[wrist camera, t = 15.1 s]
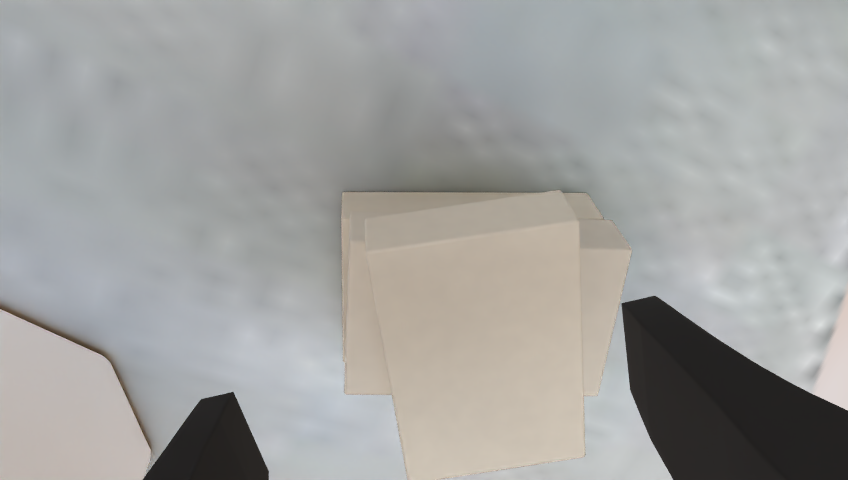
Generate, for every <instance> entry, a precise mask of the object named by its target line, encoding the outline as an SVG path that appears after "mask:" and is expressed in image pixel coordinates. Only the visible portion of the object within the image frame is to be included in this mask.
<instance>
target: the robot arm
mask: <svg viewBox="0 0 848 480" xmlns="http://www.w3.org/2000/svg"><path fill="white" fill-rule="evenodd" d="M622 313H623V322H624V332H625V342H626V352H627V362H628V372H629V382H630V390H631V393H632V395H633V398H634V400H635V403H636V405H637V408H638V410H639V413H640V415H641V418H642V420H643V422H644V425H645V427H646V429H647V432H648V434H649V436H650V439H651V441H652V442H653V444H654V446H655V448H656V450H657V451H658V453H659V455H660V457H661V458H662V460H663V462H664V464H665V466H666V467H667V469H668V471H669V473H670V474H671V476H672V478H673V480H848V411H847V410H845V409H843V408H841V407H839V406H837V405H835V404H832V403H830V402H828V401H826V400H824V399H822V398H820V397H817V396H815V395H813V394H811V393H809V392H807V391H805V390H803V389H801V388H799V387H797V386H795V385H793V384H792V383H790V382H788V381H786V380H784V379H783V378H781V377H779V376H777V375H775V374H774V373H772V372H770V371H768V370H766V369H765V368H763V367H761V366H759V365H758V364H756V363H754V362H753V361H751V360H750V359H748V358H746V357H745V356H743V355H742V354H740V353H739V352H737V351H735V350H734V349H732V348H731V347H729V346H728V345H726V344H724V343H723V342H721V341H720V340H718V339H717V338H715V337H714V336H712V335H711V334H709V333H708V332H706V331H705V330H704V329H702V328H701V327H699V326H698V325H696V324H695V323H693V322H692V321H691V320H689V319H688V318H686V317H685V316H684V315H682V314H681V313H679V312H678V311H676V310H675V309H674V308H672V307H671V306H669V305H668V304H667V303H665V302H664V301H662V300H661V299H659V298H658V297H656V296H652V297H647V298H643V299H639V300H634V301H630V302H625V303H622ZM143 480H269V471H268V469H267V467H266V464H265V462H264V460H263V458H262V455H261V453H260V451H259V449H258V446H257V444H256V442H255V440H254V437H253V435H252V433H251V431H250V428H249V426H248V424H247V422H246V419H245V417H244V415H243V413H242V410H241V408H240V406H239V404H238V401H237V399H236V397H235V395H234V392H231V393H227V394H222V395H218V396H213V397H209V398H205V399H201V400H200V401H199V403H198V404H197V405H196V407H195V408H194V409H193V411H192V412H191V413H190V415H189V416H188V418H187V419H186V420H185V422H184V423H183V425H182V426H181V427H180V429H179V430H178V432H177V433H176V434H175V436H174V437H173V439H172V440H171V442H170V443H169V444H168V446H167V447H166V449H165V450H164V451H163V453H162V454H161V455H160V457H159V458H158V460H157V461H156V462H155V464H154V465H153V466H152V468H151V469H150V470H149V472H148V473H147V475H146V476H145V477H144V479H143Z"/></svg>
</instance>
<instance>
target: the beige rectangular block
mask: <svg viewBox="0 0 848 480" xmlns="http://www.w3.org/2000/svg"><path fill="white" fill-rule="evenodd" d="M365 251H366V259H367V264H368V269H369V275H370V280H371V285H372V291H373V296H374V302H375V307H376V312H377V318H378V323H379V329H380V334H381V339H382V345H383V350H384V355H385V361H386V366H387V372H388V377H389V382H390V388H391V393H392V399H393V404H394V409H395V415H396V420H397V425H398V431H399V436H400V442H401V447H402V452H403V458H404V463H405V468H406V474H407V479H408V480H439V479H445V478H452V477H458V476H465V475H471V474H478V473H484V472H491V471H498V470H504V469H511V468H517V467H524V466H530V465H537V464H543V463H550V462H556V461H563V460H569V459H576V458H582V457H585V424H584V382H583V340H582V299H581V257H580V222H579V220H578V218H577V216H576V215H575V213H574V211H573V210H572V208H571V206H570V205H569V203H568V201H567V200H566V198H565V196H564V195H563V193H562V191H561V190H555V191H548V192H542V193H535V194H528V195H521V196H515V197H508V198H501V199H494V200H488V201H481V202H474V203H467V204H460V205H454V206H447V207H440V208H433V209H427V210H420V211H413V212H406V213H399V214H393V215H386V216H379V217H372V218H367V219H365Z"/></svg>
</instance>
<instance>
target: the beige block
mask: <svg viewBox="0 0 848 480" xmlns="http://www.w3.org/2000/svg"><path fill="white" fill-rule="evenodd" d="M528 194H535V193H499V192H343V193H342V212H341V241H342V324H343V362H345V384H344V393H345V394H346V395H392V393H391V388H390V382H389V377H388V372H387V366H386V361H385V355H384V350H383V345H382V339H381V334H380V329H379V323H378V318H377V312H376V307H375V302H374V296H373V291H372V285H371V280H370V275H369V269H368V264H367V259H366V251H365V219H367V218H372V217H379V216H386V215H393V214H399V213H406V212H413V211H420V210H427V209H433V208H440V207H447V206H454V205H460V204H467V203H474V202H481V201H488V200H494V199H501V198H508V197H515V196H521V195H528ZM563 195H564V196H565V198H566V200H567V201H568V203H569V205H570V206H571V208H572V210H573V211H574V213H575V215H576V216H577V218H578V220H579V222H580V257H581V299H582V340H583V382H584V396H597V395H598V392H599V388H600V384H601V379H602V375H603V371H604V367H605V363H606V358H607V354H608V350H609V346H610V342H611V337H612V333H613V329H614V325H615V321H616V316H617V312H618V308H619V304H620V300H621V295H622V291H623V287H624V283H625V279H626V274H627V270H628V266H629V262H630V257H631V253H632V248H631V247H630V246H629V244H628V243H627V241H626V240H625V238H624V237H623V235H622V234H621V232H620V231H619V230H618V228H617V227H616V225H615V224H614V222H613V221H612V220H604V218H603V216H602V215H601V213H600V212H599V210H598V209H597V207H596V206H595V204H594V203H593V201H592V200H591V198H590V197H589V195H588V194H587V193H563Z"/></svg>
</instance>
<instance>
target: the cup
mask: <svg viewBox="0 0 848 480" xmlns="http://www.w3.org/2000/svg"><path fill="white" fill-rule="evenodd" d="M150 459H151V450H150V448H149V446H148V443H147V441H146V439H145V437H144V435H143V433H142V430H141V428H140V426H139V424H138V422H137V419H136V417H135V415H134V413H133V411H132V409H131V406H130V404H129V402H128V400H127V398H126V395H125V393H124V391H123V389H122V387H121V385H120V382H119V380H118V378H117V376H116V374H115V372H114V369H113V367H112V365H111V363H110V362H109V361H108V360H107V359H106V358H105V357H104V356H102V355H100V354H98V353H96V352H94V351H91V350H89V349H87V348H85V347H83V346H80V345H78V344H76V343H74V342H72V341H69V340H67V339H65V338H63V337H61V336H58V335H56V334H54V333H52V332H50V331H47V330H45V329H43V328H41V327H38V326H36V325H34V324H32V323H30V322H27V321H25V320H23V319H21V318H19V317H16V316H14V315H12V314H10V313H8V312H5V311H3V310H1V309H0V480H143V479H144V477H145V474H146V471H147V468H148V465H149V462H150Z"/></svg>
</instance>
